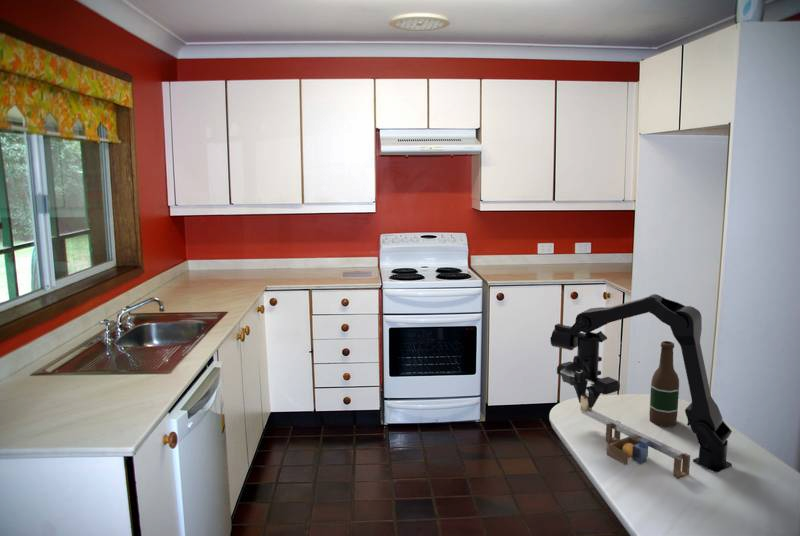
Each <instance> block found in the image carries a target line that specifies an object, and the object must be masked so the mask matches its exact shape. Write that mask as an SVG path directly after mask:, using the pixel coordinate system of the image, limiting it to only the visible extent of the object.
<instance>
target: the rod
mask: <svg viewBox="0 0 800 536" xmlns="http://www.w3.org/2000/svg"><path fill="white" fill-rule="evenodd" d="M579 404H580V406H579V409H580V411H581V414H583V415H585V416H587V418H588V417H589V418H591V419H593V420H595V421H597V422H599V423H601V424H603V425H605V426H606V424H608V423H609V424H611V425H613V428H612V430H614V429H615V430H617V431H619V432H620V434H623V435H625V436H627V437H631V438H633V439H635V440H637V441H639V444H636V445H633V457H632V458H631V459H632V461H633V462H635V463H636V464H637V463H638V464H639V465H641V464H645V463H647V461H648V457H647V448H648V449H649V447H650V448H651V449H654V450H656V451H658V452H659V453H662V454H664V455H666V456H667V457H670V458H672V459H674V457H679V458H681V459H682V460H683V454H684V452H682V451H680V450H677V449H676V448H674V447H672V446H669V445H667V444H665V443H663V442H662V441H659V440H657V439H655V438H653V437H651V436H649V435H646V434H644V433H642V432H640V431H638V430H636V429H634V428H631V427H630V426H628V425H625V424H624V423H622V422H621V423H619V422H620V421H619V422H617V421H618V420H615V419H612V418H610V417H609V416H606V415H604V414H602V413H601V412H598V411H596V410H594V409H593V407H592V408H589V392H588V393H587V392H586V393H582V394H581V403H579Z"/></svg>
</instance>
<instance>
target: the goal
mask: <svg viewBox="0 0 800 536" xmlns="http://www.w3.org/2000/svg"><path fill="white" fill-rule="evenodd" d="M627 443H631V444H633V445H636V444H639V441H637V440H635V439H633V438H631V437H629V436H627V437H624V438H620V440H617V441H615V442H612V443H608V444H607V445H606V446H607V447H606V449H607V450H606V456H608V457H610V458H611V459H613V460H615V461H617V462H619V463H620V464H622V465H625V466H627V465H629V464H628V461H629V460H628V459H629V458H628V453H626V452H624V451H622V447H623V446H624V445H625V444H627ZM648 456H649V447H648V448H647V458H648Z"/></svg>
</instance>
